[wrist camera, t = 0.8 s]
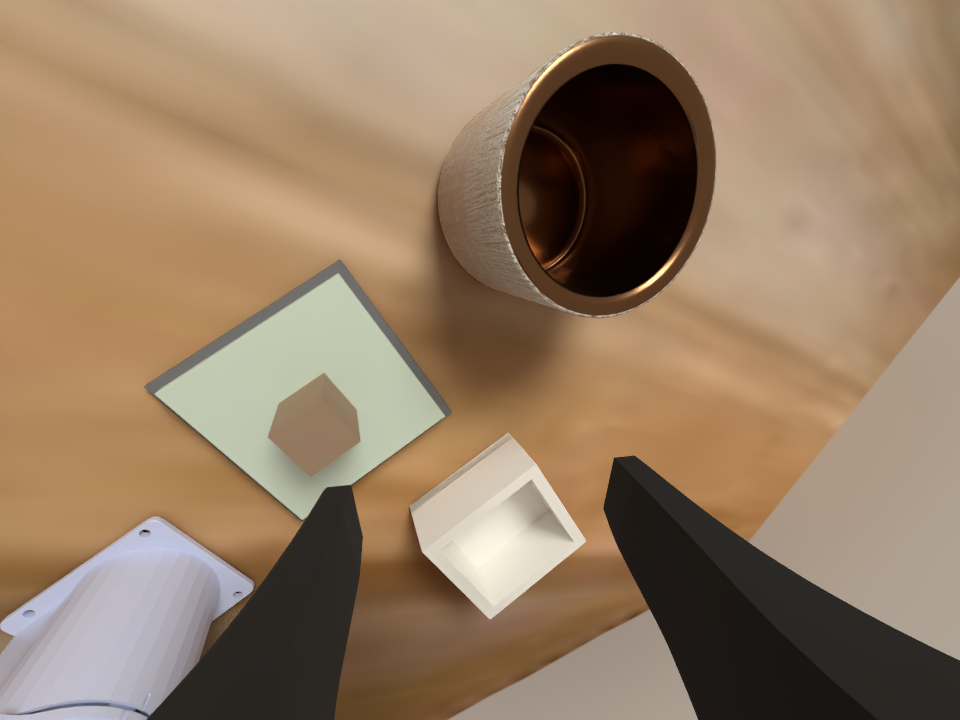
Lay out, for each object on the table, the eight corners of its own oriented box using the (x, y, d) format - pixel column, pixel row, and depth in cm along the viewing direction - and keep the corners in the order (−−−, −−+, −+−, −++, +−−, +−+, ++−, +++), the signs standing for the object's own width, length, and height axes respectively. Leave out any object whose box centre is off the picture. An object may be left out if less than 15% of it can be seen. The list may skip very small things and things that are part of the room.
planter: (620, 195, 27) (756, 178, 18) (525, 323, 27) (614, 365, 18) (510, 58, 22) (625, -55, 13) (397, 216, 22) (436, 206, 14)
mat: (302, 517, 26) (301, 521, 25) (147, 384, 20) (143, 386, 20) (450, 409, 27) (451, 412, 27) (340, 259, 22) (340, 259, 21)
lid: (303, 512, 25) (296, 569, 21) (160, 388, 20) (113, 430, 16) (442, 411, 26) (463, 446, 22) (338, 272, 22) (339, 282, 17)
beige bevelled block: (470, 571, 32) (490, 619, 28) (409, 506, 28) (422, 551, 24) (555, 503, 33) (586, 541, 29) (508, 432, 29) (536, 464, 25)
